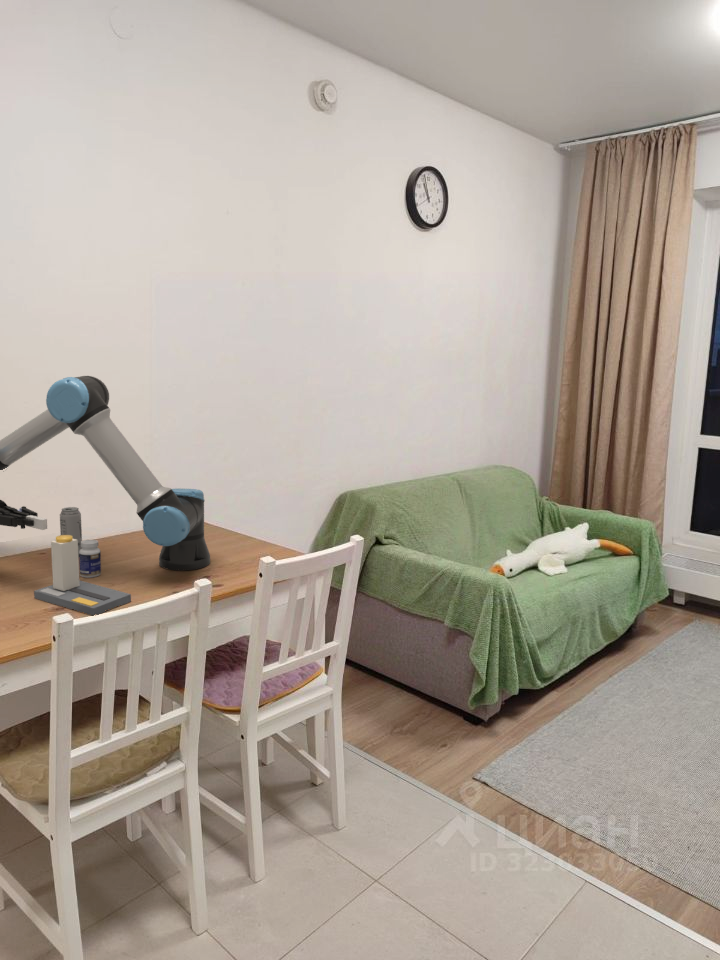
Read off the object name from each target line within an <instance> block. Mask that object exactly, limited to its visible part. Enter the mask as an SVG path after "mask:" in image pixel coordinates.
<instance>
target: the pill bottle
mask: <svg viewBox="0 0 720 960" xmlns="http://www.w3.org/2000/svg"><path fill="white" fill-rule="evenodd" d="M98 546H99V540H97V539H84V540H82V541H81V547H82V549H81V550H80V551H79V557H78V561H79V577H82V578H88V579H90V578H97V577H99V576H100V575H101V574H102V565H101V564H102V560H101V559H102V555H101V554H102V553H101V548H99V547H98Z"/></svg>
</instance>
